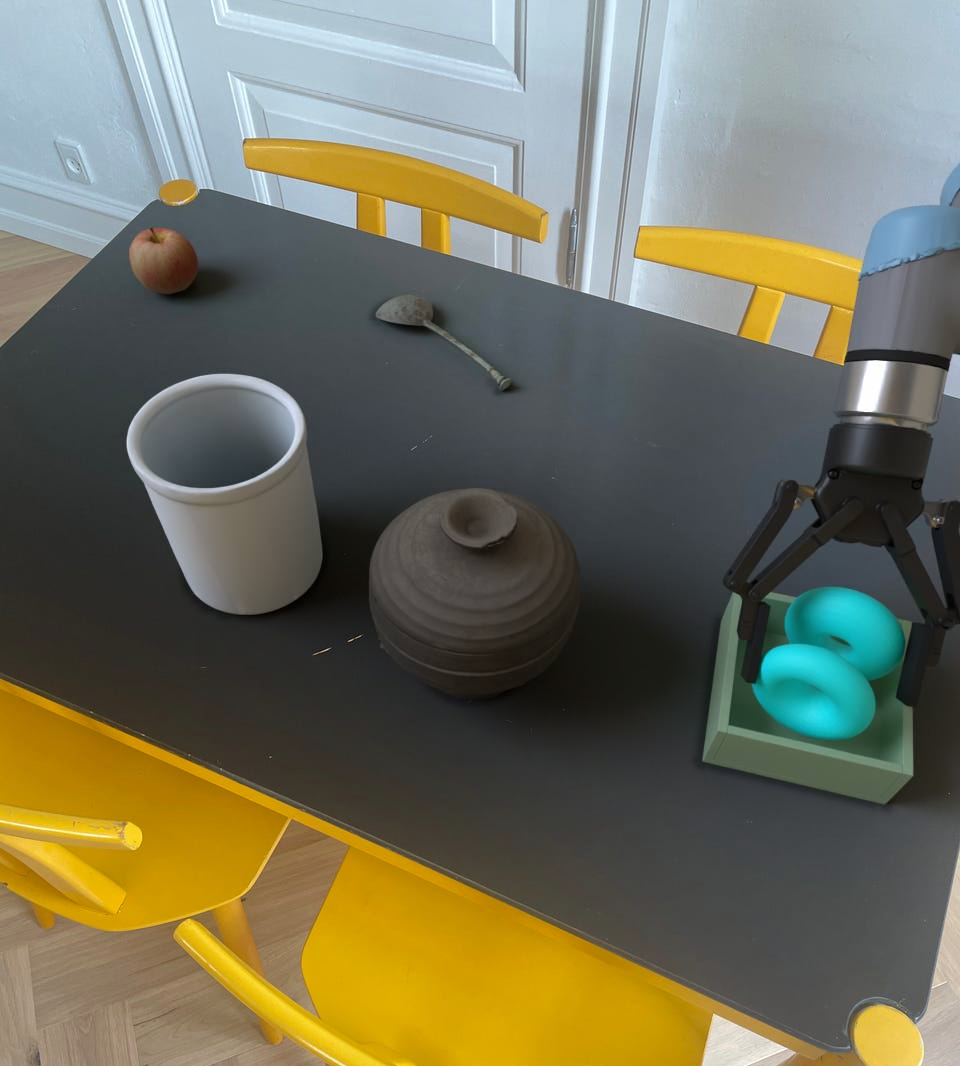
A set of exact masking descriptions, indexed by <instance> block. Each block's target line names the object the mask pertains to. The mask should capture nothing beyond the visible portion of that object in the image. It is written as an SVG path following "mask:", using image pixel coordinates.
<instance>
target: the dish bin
mask: <svg viewBox="0 0 960 1066" xmlns="http://www.w3.org/2000/svg"><path fill="white" fill-rule="evenodd" d="M797 597H798V596H791V595H787V594H781V593H778V592H772V591H771V592H770V593H769V594H768V595H767V596H766V597H765V598H763V599H762V600H761V601H764V602H766V603H767V604H768V605H770V606H771V608H770V613H769V618H768V623H767V628H766V633H765V639H764V644H763V649H762V654H761V656H762V655H763V654H764V653H766V652H767V651H769V650H771V649H773V648H775V647H778V646H782V645H787V644H790V643H789V641H788V638H787V636H786V632H785V617H786V613H787V610H788V608H789V607H790V605H791V604H792V602H793V601H794V600H795V599H796V598H797ZM741 604H742V598H741V596H740V595H738V594H736V593H734V592H732V594H731V596H730V598H729V600H728V604H727V606H726V608H725V611H724V613H723V615H722V617H721V620H720V626H719V633H718V642H717V648H716V657H715V663H714V671H713V678H712V686H711V693H710V699H709V701H710V702H709V707H708V708H709V709H708V715H707V723H706V729H705V738H704V744H703V753H702V762H703V763H708V764H711V765H716V766H720V767H724V768H728V769H731V770H732V769H733V770H737V771H742V772H746V773H750V774H754V775H758V776H762V777H767V778H771V779H775V780H780V781H782V782H783V781H784V782H787V783H792V784H796V785H800V786H805V787H808V788H809V787H810V788H813V789H818V790H822V791H826V792H830V793H835V794H839V795H844V796H847V797H852V798H856V799H861V800H863V801H864V800H865V801H868V802H873V803H877V804H882V805H886V804H887V803H888V802H889V801H891V799H893V798H894V796H896V794H897V793H898V792H900V790H901V789H902V788H903V787H904V786H905V785H906V784H907V783H909V781H910V780H911V779H912V778H913V777H914V722H913V721H914V720H913V719H914V716H913V715H914V714H913V713H914V711H913V710H914V709H913V708H914V707H910V706H906V705H905V704H903V703H902V702H901V701H899V700H898V699H897V698H895V697H896V692H897V688H898V684H899V679H900V675H901V671H902V666H903V662H904V657H905V653H906V649H907V644H908V640H909V635H910V631H911V627H912V621H911V620H907V619H902V618H897V620H898V621H899V623H900V625H901V627H902V629H903V632H904V636H905V652H904V655H903V658H902V660H901V662H900V663H899V664H898V666H897V667H896V668H895V669H894V670H893V671H891V672H890V673H888V674H887V675H885V676H883V677H880V678H878V679H874V680H870V681H868V682H869V684H870V686H871V688H872V690H873V693H874V697H875V704H876V707H875V714H874V717H873V719H872V721H871V723H870V724H869V726H868V727H867V728H866V729H865V730H864V731H863V732H861V733H860V734H858V735H856V736H854V737H852V738H848V739H844V740H834V741H831V740H820V739H815V738H811V737H807V736H804V735H802V734H799V733H797V732H794V731H792V730H790V729H789V728H787V727H785V726H783V725H782V724H780V723H779V722H778V721H776V720H775V719H774V718H773V717H771V716H770V715H769V714H768V713H767V712H766V711H765V709H764V708H763V707H762V706H761V704H760V703H759V701H758V700H757V698H756V696H755V694H754V691H753V687H752V683H746V681H745V680H744V679H743V677H742V676H741V671H742V665H743V660H744V655H745V650H746V645H747V640H741V639H740V638H739V637H738V634H737V626H738V620H739V615H740V610H741ZM830 637H831V638H833V639H834V640H836V641H838V642H840V643H842V644H845V645H849V646H850V644H849V643H847V642H846V641H844V640H843V639H840V638H838V637H835V636H830ZM811 686H812V685H811ZM812 687H814V686H812ZM814 688H816V687H814ZM817 689H818V688H817Z"/></svg>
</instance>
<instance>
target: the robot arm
mask: <svg viewBox="0 0 960 1066" xmlns="http://www.w3.org/2000/svg"><path fill="white" fill-rule="evenodd" d="M862 260H863V261H862V264H861V268H860V273H859V274H858V276H857V277H858V278H857V281H858V284H857V290H856V296H855V302H854V306H853V312H852V318H851V322H850V323H851V324H850V329H849V335H848V341H847V346H846V351H845V355H844V359H843V365H842V371H841V375H840V380H839V384H838V389H837V392H836V393H837V394H836V397H835V403H834V407H833V414H834V415H835V417H836V418H838V419H839V423H834V424H833V426H832V427H830V428H829V430H828V431H829V432H828V436H827V441H826V447H825V450H824V451H825V452H824V456H823V462H822V466H821V473H820V475H819V478H818V480H817V482H816V483H815V484H814V485H809V484H804V483H799V482H797V481H796V480H794V479H781V480H779V481H778V482H777V484H776V487H775V491H774V495H773V498H772V503H771V505H770V507H769V509H768V511H767V512H766V514H765V515H764V516H763V517H762V519H761V521H760V522H759V524H758V525H757V527H756V528H755V530H754V531H753V532H752V534H751V536H750V537H749V539H748V541H746V543H745V545H743V547H742V549H741V550H740V552H739V554H738V555H737V557H736V558H735V560H734V561H733V563H732V564H731V565H730V567H729V569H728V570H727V571H726V573H725V575H724V576H723V578H722V585H723V586H724V587H725V588H727V590H729V591H730V592H732V593H733V592H734V593H736V594H738V595H740V596H741V598H742V604H741V610H740V615H739V620H738V626H737V634H738V637H739V638H740V639H741V640H747V645H746V650H745V655H744V660H743V665H742V671H741V676H742V677H743V679H744V680H745V681H746V683H753V684H756V679H757V674H758V669H759V664H760V659H761V654H762V649H763V644H764V639H765V633H766V628H767V623H768V618H769V613H770V608H771V606H770V605H768V604H767V603H766V602H764V601H761V600H762V599H763V598H765V597H766V596H767V595H768V594H769V593H770V592H772V591H773V590H775V589H776V588H777V587H778V586H779V585H780V584H781V583H782V582H783V581H785V580H786V579H787V578H788V577H789V576H790V575H791V574H792V573H793V572H795V570H797V569H798V568H799V567H800V566H801V565H802V564H803V563H804V562H806V561H807V559H809V558H810V557H811V556H812V555H813V554H814V553H815V552H816V551H817V550H818V549H820V548H822V547H823V546H825V545H826V544H827V543H828V542H829V541H831V540H832V539H833V540H834V541H835V542H838V543H844V544H863V545H865V546H869V547H874V548H882V547H884V548H885V550H886V551H887V553H888V554H889V555H890V556H891V558H892V560H893V562H894V565H895V566H896V568H897V570H898V573H900V575H901V577H902V580H903V581H904V583H905V585H906V587H907V589H908V591H909V593H910V595H911V597H912V599H913V602H914V603H915V605H916V606H917V609H918V610H919V612H920V614H921V616H922V618H923V620H924V622H923V623H922V622H917V621H911V631H910V635H909V640H908V644H907V649H906V653H905V657H904V662H903V666H902V671H901V675H900V679H899V684H898V688H897V692H896V697H895V698H897V699H898V700H899V701H901V702H902V703H903V704H905V705H906V706H910V707H913V708H917V706H918V702H919V697H920V693H921V689H922V685H923V681H924V677H925V672H926V668H927V667H932V668H936V667H937V665H938V663H939V662H940V657H941V654H942V649H943V645H944V641H945V636H946V633H947V631H950V630H952V629H953V628H954V627H955V626H956V625H957V626H958V625H960V501H959V500H956V499H955V500H954V499H939V500H926V499H925V498H924V496H923V484H924V481H925V478H926V474H927V471H928V464H929V460H930V456H931V452H932V446H933V442H934V437H932V434H931V433H930V432H927V430H928V427H929V428H930V427H933V426H935V425H936V424H937V423H938V422H939V416H940V412H941V407H942V401H943V397H944V393H945V388H946V383H947V378H948V374H949V373H948V372H950V371H949V370H950V366H951V362H952V359H953V355H957V356H960V162H959V163H958V164H957V165H956V166H955V167H953V169H952V171H951V172H950V173H949V175H948V176H947V178H946V179H945V181H944V183H943V186H942V189H941V191H940V197H939V204H924V205H923V204H921V205H912V206H906V207H902V208H901V207H900V208H898V209H894V210H892V211H890V212H888V213H887V214H885V215H883V216H881V217H880V218H879V219H878V221H876V223H875V224H874V226H873V227H872V229H871V233H870V237H869V240H868V243H867V245H866V248H865V252H864V257H863V259H862ZM807 500H810V502H811V504H812V506H813V507H814V511H815V512H816V514H817V518H816V519H815V520H814V521H813V522H812V523H810V525H808V526H807V527H806V529H804V530H803V532H802V534H801V535H800V536H799V537H797V538H796V539H795V540H794V541H793V542H792V543H791V544H790V545H789V546H788V547H787V548H786V549H784V550H783V551H782V552H781V553H780V554H779V555H778V556H777V557H776V558H774V560H773V561H771V562H770V563H769V564H768V565H766V567H765V568H764V569H763V570H761V571H760V572H759V573H758V574H757V575H756V576H755V577H754V578H752V580H750V581H749V582H748V579H749V578H750V576H751V574H752V573H753V572H754V570H755V569H756V567H757V566H758V564H759V563H760V561H761V560H762V558H763V557H764V556H765V554H766V553H767V551H768V549H770V547H771V545H772V544H773V542H774V541H775V539H776V538H777V536H778V535H779V534H780V532H781V531H782V529H783V527H784V526H785V524H786V523H787V522H788V520H789V518H790V516H791V515H792V512H793V511H794V510H799V509H801V508H802V507H803V505H804V503H805V502H806V501H807ZM921 515H923V517H924V520H925V524H926V526H928V527H930V529H931V530H930V531H931V532H930V533H931V539H932V544H933V548H934V553H935V558H936V563H937V569H938V573H939V578H940V582H941V587H942V591H943V597H944V601H945V604H944V602H943V600H942V599H941V597H940V594H939V593H938V591H937V589H936V587H935V585H934V583H933V581H932V579H931V577H930V575H929V574H928V571H927V570H926V569H927V568H925V565H924V564H923V561H922V560H921V557H920V556H919V554H918V552H917V547H916V544H915V542H914V540H913V537H912V536H911V534H910V532H909V530H908V527H910V525H912V524H913V523H914V522H915V521H916V520H917V519H918V518H919V517H920V516H921Z"/></svg>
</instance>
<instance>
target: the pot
mask: <svg viewBox="0 0 960 1066" xmlns="http://www.w3.org/2000/svg"><path fill="white" fill-rule="evenodd" d="M368 571H369V572H368V573H369V574H368V575H369V577H368V594H369V595H368V602H369V609H370V613H371V617H372V621H373V625H374V628H375V631H376V633H377V636H378V637H377V640H378V641H379V646H380V648H381V649H382V651H384V652H385V653H386V654H387V655H388V656H389V657H390V658H391V659H392V660H393V661H394V663H395V664H396V665H397V666H399V667H400V668H401V669H403V670H404V672H406V673H408V674H409V675H410V676H412V677H414V679H416V680H418V681H419V682H421V683H423V684H424V685H426V686H430V687H433V688H436V689H438V690H439V691H442V692H443V693H444V694H446V695H448V696H451V697H453V698H456V699H462V700H473V701H474V700H475V701H476V700H486V699H492V698H495V697H497V696H499V695H501V694H502V693H503V692H506V691H508V690H512V689H514V688H519V687H521V686H523V685H525V684H527V683H528V682H529V681H531V680H533V679H535V678H536V677H538V676H540V675H542V674H543V673H544V672H545V671H546V670H547V669H548V668H549V667H550V666H551V665H552V664H553V663H554V661H555V660H556V659H557V658H558V656H559V655H560V654H561V651H562V650H563V649H564V648H565V645H566V644H567V642H568V640H569V638H570V637H571V634H572V631H573V628H574V625H575V621H576V619H577V617H578V613H579V610H580V604H581V603H580V602H581V584H580V582H581V581H580V580H581V572H580V571H581V570H580V563H579V558H578V554H577V551H576V549H575V547H574V544H573V542H572V541H571V539H570V537H569V536H568V533H566V531H565V530H564V528H563V527H562V526H561V525H560V523H558V522H557V520H556V519H555V518H554V517H553V516H552V515H551V514H549V513H548V512H547V511H546V510H545V509H543V507H541V506H539V505H537V504H536V503H534V502H532V501H531V500H528V499H526V498H524V497H522V496H519V495H516V494H513V493H509V492H506V491H503V490H502V491H501V490H496V489H491V488H486V487H485V488H483V487H470V488H459V489H452V490H447V491H441V492H439V493H435V494H432V495H429V496H427V497H424V498H422V499H420V500H419V501H416V502H415V503H413V504H412V505H410V506H409V507H407V508H406V509H405V510H403V511H402V512H401V513H399V514H398V515H396V517H395V518H394V519H393V520H392V521H390V523H389V524H388V525H387V526H386V527H385V529H384V530H383V531H382V533H381V535H380V536H379V538H378V539H377V542H376V544H375V546H374V549H373V551H372V554H371V557H370V561H369V570H368Z"/></svg>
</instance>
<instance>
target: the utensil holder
mask: <svg viewBox="0 0 960 1066" xmlns="http://www.w3.org/2000/svg"><path fill="white" fill-rule="evenodd" d="M126 435H127V436H126V451H127V454H128V458H129V461H130V463H131V465H132V468H133V470H134V471H135V473H136V474H137V476H138V477H139V478H140V480H141V481H142V483H143V484H144V487H145V490H146V491H147V495H148V496H149V499H150V501H151V504H152V506H153V508H154V511H155V513H156V515H157V517H158V520H159V522H160V524H161V526H162V529H163V531H164V534H165V536H166V538H167V540H168V543H169V545H170V548H171V549H172V552H173V554H174V556H175V558H176V561H177V563H178V565H179V567H180V569H181V571H182V573H183V576H184V578H185V580H186V582H187V585H188V586H189V587H190V590H191V591H192V592H193V594H194V595H195V596H196V597H197V598H198V599H199V600H200V601H202V603H204V604H206V605H207V606H209V607H211V608H213V609H215V610H218V611H221V612H224V613H227V614H232V615H241V616H243V615H244V616H245V615H246V616H250V615H260V614H261V615H262V614H266V613H270V612H274V611H277V610H279V609H281V608H283V607H286V606H288V605H289V604H291V603H293V602H294V601H296V600H298V599H299V598H300V597H301V596H303V595H304V594H305V593H306V592H307V591H308V590H309V589H310V588H311V587H312V585H313V584H314V582H315V581H316V579H317V577H318V576H319V573H320V570H321V567H322V563H323V544H322V537H321V529H320V520H319V514H318V507H317V500H316V496H315V490H314V484H313V477H312V471H311V466H310V465H311V464H310V459H309V452H308V448H307V447H308V446H307V440H308V438H307V437H308V430H307V423H306V418H305V415H304V412H303V411H302V409H301V407H300V405H299V403H298V402H297V401H296V400H295V398H294V397H292V395H290V394H289V393H288V392H287V391H286V390H284V389H283V388H281V387H280V386H278V385H276V384H274V383H272V382H270V381H268V380H265V379H262V378H259V377H256V376H251V375H245V374H236V373H212V374H205V375H199V376H195V377H192V378H188V379H185V380H182V381H180V382H178V383H175V384H172V385H171V386H168V387H167V388H165V389H163V390H161V391H160V392H159V393H157V394H155V395H154V396H153V397H151V398H150V399H149V400H148V401H146V402H145V404H143V405H142V407H141V408H140V409H139V410H138V411H137V413H136V414H135V415H134V417H133V418H132V420H131V423H130V425H129V427H128V430H127V434H126Z"/></svg>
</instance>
